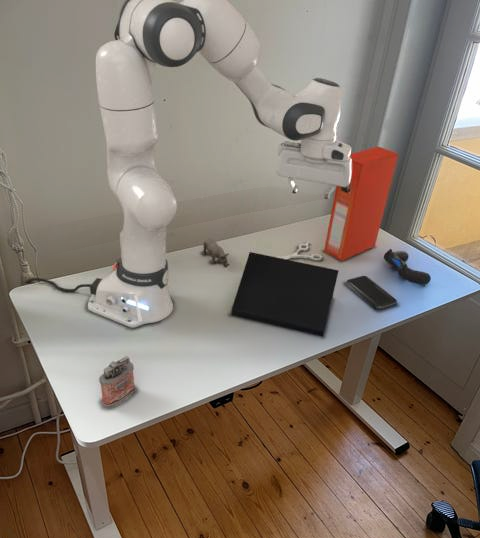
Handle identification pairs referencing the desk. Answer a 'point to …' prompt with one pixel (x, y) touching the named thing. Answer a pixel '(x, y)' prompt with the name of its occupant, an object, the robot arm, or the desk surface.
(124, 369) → the lighter
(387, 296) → the phone
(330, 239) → the file binder
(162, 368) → the desk surface
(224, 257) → the rhino figurine
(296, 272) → the laptop screen
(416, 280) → the gaming controller
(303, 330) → the laptop
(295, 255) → the scissors
